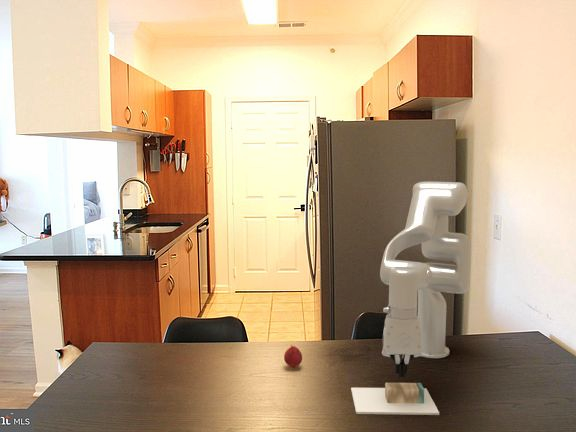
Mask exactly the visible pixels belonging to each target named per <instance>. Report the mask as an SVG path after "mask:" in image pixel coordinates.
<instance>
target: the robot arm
mask: <svg viewBox="0 0 576 432" xmlns="http://www.w3.org/2000/svg"><path fill="white" fill-rule="evenodd" d="M412 187H413V188H412V197H411V201H410V205H409V210H408V214H407V218H406V224H405V228H404V229H403V230H401V231H400V232H399V233H397V234H396V235H395V236H394V237H393V238H391V240H390V241H389V242H388V244H387V245H386V247H385V250H384V251H383V256H382V260H381V263H380V270H379V277H380V280H381V282H382V283H383V284H384V285H387V286H388V304H387V306H386V307H383V308H382V309H383V310H382V311H383V313H385V314H386V316H385V319H384V325H383V333H382V351H381V354H382V356H383V357H388V358H391V360H393V362H394V373H395V375H397V377H398V378H399V379H401V378H402V379H405V378H406V375H407V374H408V364H409V363H410V362H411V360H412V359H413V358H418V357H423V358H427V359H443V358H445V357H448V356H449V355H450V349H449V347H447V346H446V330H447V329H446V327H447V326H446V324H447V323H446V322H447V302H446V299H445V298H444V296H443V294H442V293H448V294H449V293H450V294H458V295H459V294H461V295H462V294H465V293H467V292H468V290H469V288H470V281H471V260H472V259H471V255H472V253H471V252H472V245H471V240H470V237H469V236H468V235H467V234H466V233H465V234H464V233H462V232H450V231H449V217H454V216H457V215H459V214H460V213H461V212H462V210H463V209H464V208H465V206H466V204H467V201H468V196H469V193H468V188H467V186H466V184H465V183H464V182H458V181H457V182H456V181H455V182H454V181H419V182H417V183H415V184H414V185H413V186H412ZM416 245H421V253H422V255H423V256H424V257H425V258H426V259H429V260H430V259H432V260H438V261H439V260H441V261H450V262H454V264H448V263H442V262H441V263H440V262H439V263H438V262H420V261H412V260H411V261H410V260H400V259H396V258H397V256H398V255H399V254H400V253H401V252H402V251H404V250H406V249H408V248H411V247H413V246H416ZM400 355H402V359H401V357H400Z"/></svg>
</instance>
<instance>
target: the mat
mask: <svg viewBox="0 0 576 432" xmlns="http://www.w3.org/2000/svg"><path fill="white" fill-rule="evenodd" d="M423 388H424V387H423ZM350 390H351V391H350V392H351V396H352V400H353V405H354V406H353V407H354V410H355V414H356V415H411V416H412V415H415V416H418V415H420V416H424V415H426V416H427V415H428V416H440V411H439V410H438V407H437V406H436V404H435V401H434V399H432V397H431V395H430V393H429V390H428V389H427V388H426V387H425V388H424V403H387V400H386V397H385V387H351V388H350Z"/></svg>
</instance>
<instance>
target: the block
mask: <svg viewBox="0 0 576 432" xmlns="http://www.w3.org/2000/svg"><path fill="white" fill-rule="evenodd" d="M384 388H385V397H386V400H387V403H424V387H423V384H422V383H421V382H385V384H384Z"/></svg>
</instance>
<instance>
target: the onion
mask: <svg viewBox="0 0 576 432" xmlns="http://www.w3.org/2000/svg"><path fill="white" fill-rule="evenodd" d="M283 359H284V362H285V363H286V365H287V366H288V367H290V368H291V369H295V368H297V367H299V366H300V365H301V363H302V362H303V354H302V352H301V351H300V349H299V348H298V347H296V346H295V345H294V344H291V345H290V347H289V348H287V350H286V351H285V352H284V355H283Z"/></svg>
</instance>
